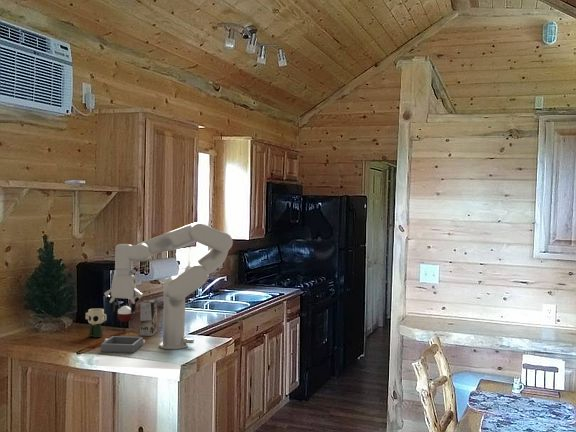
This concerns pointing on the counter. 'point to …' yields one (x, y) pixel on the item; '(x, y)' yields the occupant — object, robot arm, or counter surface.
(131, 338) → the tray
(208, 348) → the counter surface
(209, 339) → the counter surface
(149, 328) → the coffee box
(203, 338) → the counter surface
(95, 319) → the big headed toy figurine
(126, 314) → the cocoa
